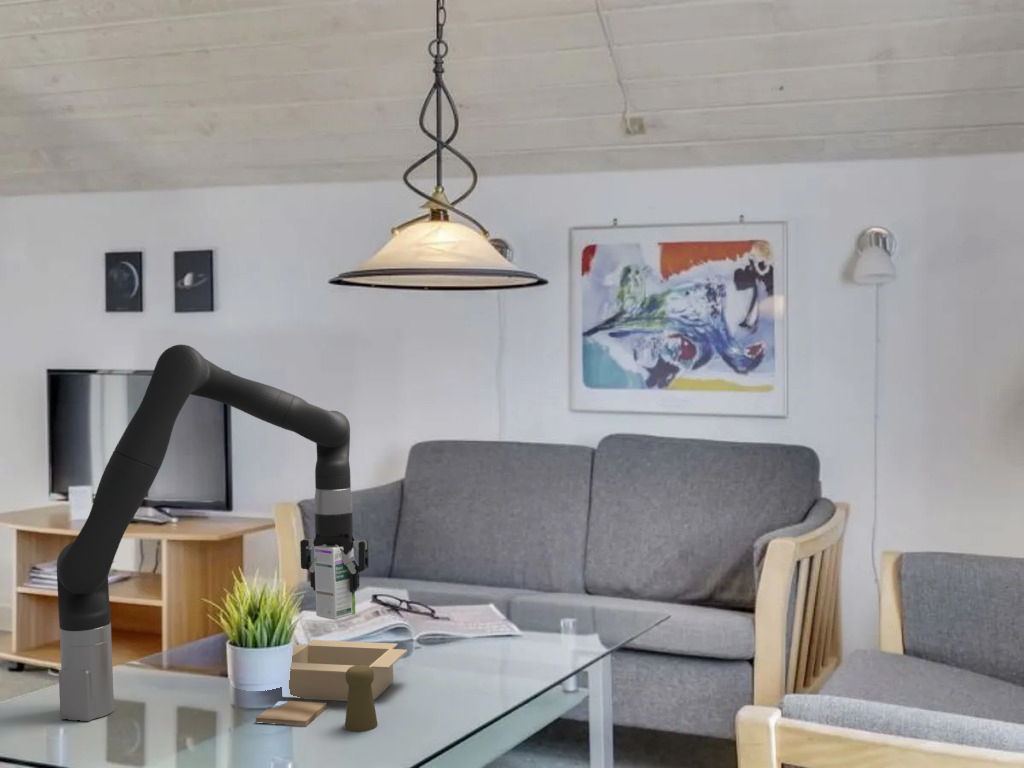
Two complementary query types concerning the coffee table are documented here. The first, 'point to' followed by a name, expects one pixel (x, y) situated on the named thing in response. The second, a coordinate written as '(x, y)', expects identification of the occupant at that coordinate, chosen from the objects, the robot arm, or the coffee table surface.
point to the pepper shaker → (360, 699)
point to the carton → (339, 667)
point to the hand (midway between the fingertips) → (335, 590)
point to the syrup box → (333, 583)
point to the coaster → (293, 713)
